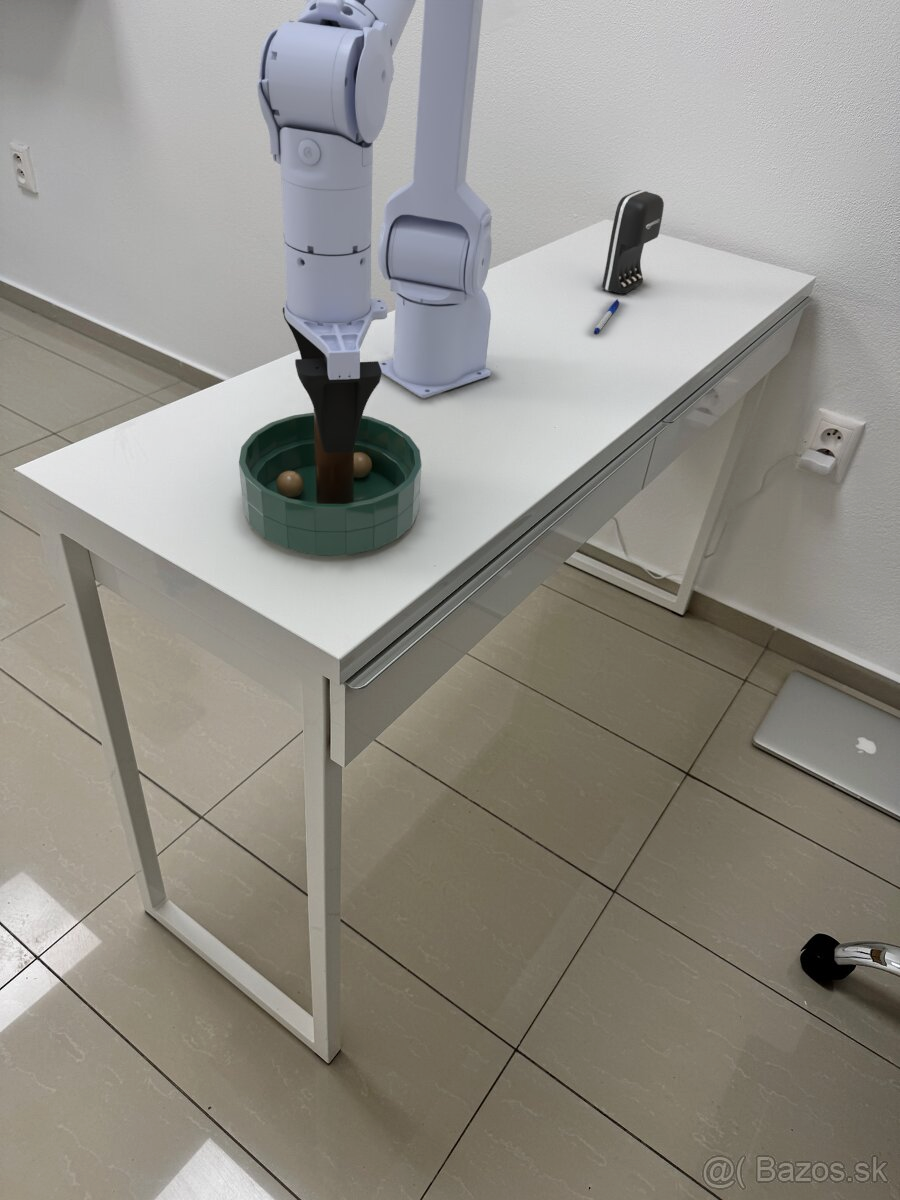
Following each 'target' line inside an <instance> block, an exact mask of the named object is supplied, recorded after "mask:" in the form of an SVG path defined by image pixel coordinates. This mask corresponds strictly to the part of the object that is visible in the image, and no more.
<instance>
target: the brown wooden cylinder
mask: <svg viewBox="0 0 900 1200" xmlns="http://www.w3.org/2000/svg"><path fill="white" fill-rule="evenodd" d="M313 413H314V433H315V466H316V499H317V504H347V503H353V502H354V448H353V450H352V451H351V452H338V453H325V452H324V449H323V446H322V443H321V439H320V435H319V431H318V426H317V421H316V415H315V410H314V409H313Z"/></svg>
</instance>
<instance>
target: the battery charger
mask: <svg viewBox="0 0 900 1200" xmlns="http://www.w3.org/2000/svg"><path fill="white" fill-rule="evenodd" d="M664 206H665V203H664V199H663V198H662V196H661V195H659V194H657V193H652V192H650V191H648V190H645V189H642V190H641V189H640V190H639V189H638V190H636V191H633V192H631V193H628V194H626V195H624V196H623V197H622V198H621V199H620V200H619V202H618V203H617V207H616V209H615V215H614V220H613V224H612V229H611V233H610V234H611V235H610V240H609V244H608V245H609V246H608V250H607V257H606V264H605V269H604V274H603V279H602V284H601V288H602V289H604V290H605V291H607V292H612V293H617V294H626V293H629V292H630V291H632V290H634V289H635V288H637V287H639V286H641V285H642V284H643V282H644V278H643V273H642V268H641V259H642V254H643V250H644V246H645V244H647V243H649V242H651V241H653V240H655V239H657V238H658V236H659V234H660V230H661V225H662V219H663V214H664Z"/></svg>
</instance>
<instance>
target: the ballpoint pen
mask: <svg viewBox="0 0 900 1200" xmlns="http://www.w3.org/2000/svg"><path fill="white" fill-rule="evenodd" d="M619 305H620V301H619V299H618V298H617V299H615V300H614V302H613V303H612V304H611V306H610V307H609V308H608V310H607V311H606V313H605V314H604V315H603V317H602V318H601V319H600V321H599V322H598V323H597V325H596V327H595V328H594V331H593V334H594V335H597V334H598V333H600V332H601V330H602V329H603V328H604V326H605V324H606V323H607V322H608V320H609V319H610V318H611V316H613V314H614V313H615V312H616V310H617V309H618V307H619Z"/></svg>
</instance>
